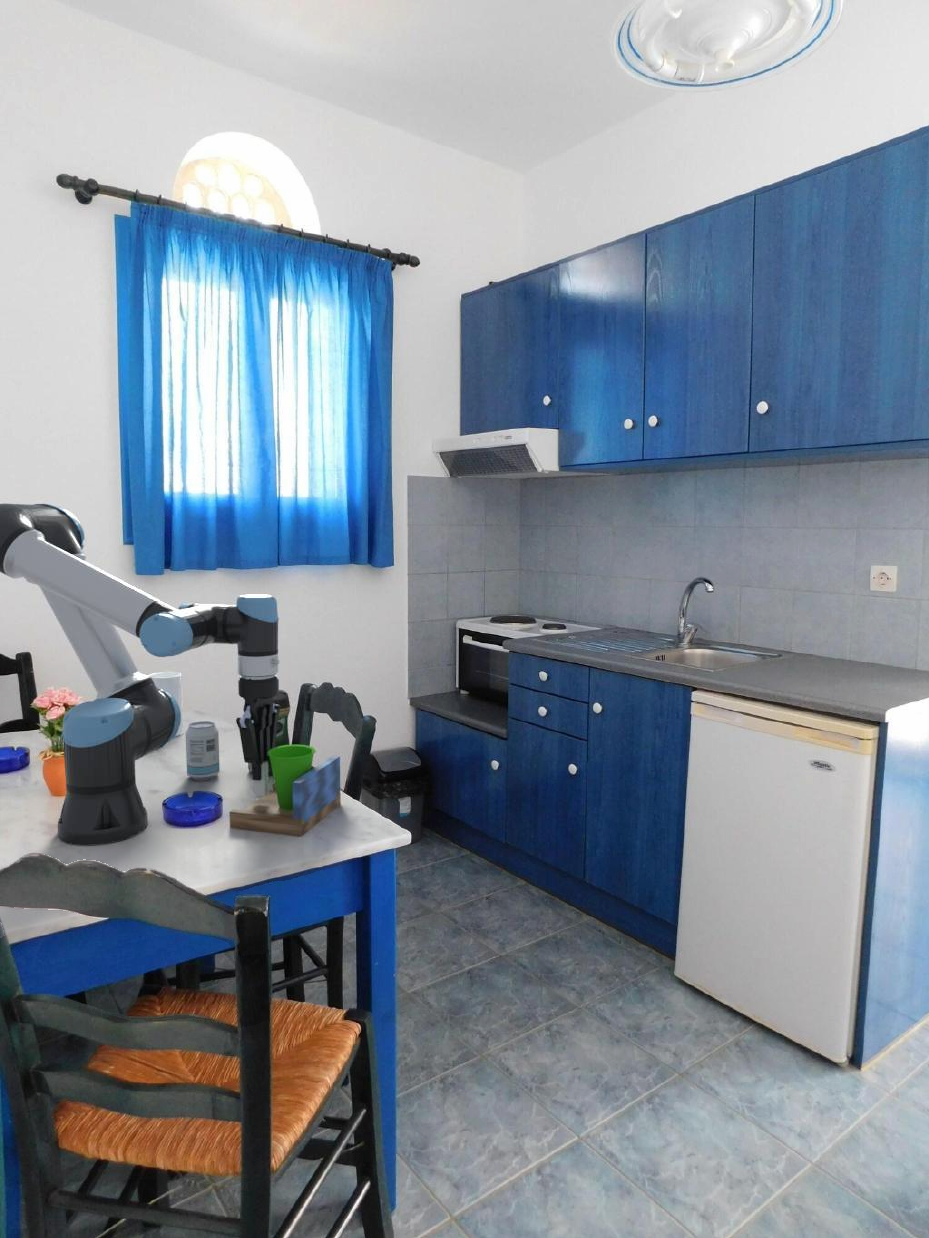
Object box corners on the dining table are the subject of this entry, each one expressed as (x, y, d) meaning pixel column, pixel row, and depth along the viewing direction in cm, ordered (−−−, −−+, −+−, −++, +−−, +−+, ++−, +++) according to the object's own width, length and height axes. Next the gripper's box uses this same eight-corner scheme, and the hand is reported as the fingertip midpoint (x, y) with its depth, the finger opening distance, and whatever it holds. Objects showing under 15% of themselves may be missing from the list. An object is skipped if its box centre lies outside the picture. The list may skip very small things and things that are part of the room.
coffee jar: (285, 763, 190) (283, 685, 187) (296, 772, 183) (294, 692, 180) (244, 769, 185) (241, 690, 182) (253, 779, 178) (251, 696, 176)
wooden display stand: (301, 836, 146) (300, 783, 145) (230, 827, 150) (228, 775, 149) (340, 804, 163) (339, 756, 162) (275, 797, 167) (274, 750, 165)
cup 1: (178, 728, 221) (176, 670, 219) (187, 734, 214) (185, 675, 212) (147, 732, 216) (144, 673, 214) (154, 739, 209) (152, 678, 207)
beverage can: (218, 770, 184) (217, 719, 182) (220, 780, 177) (219, 726, 176) (186, 773, 181) (184, 721, 180) (187, 783, 175) (185, 729, 173)
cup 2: (311, 815, 151) (310, 758, 150) (263, 814, 151) (261, 757, 150) (320, 798, 160) (319, 744, 159) (275, 797, 160) (273, 744, 159)
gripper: (258, 683, 147) (260, 807, 150) (292, 670, 160) (293, 785, 163) (222, 680, 149) (225, 803, 152) (258, 668, 162) (260, 782, 165)
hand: (260, 794), depth 157 cm, fingers closed
